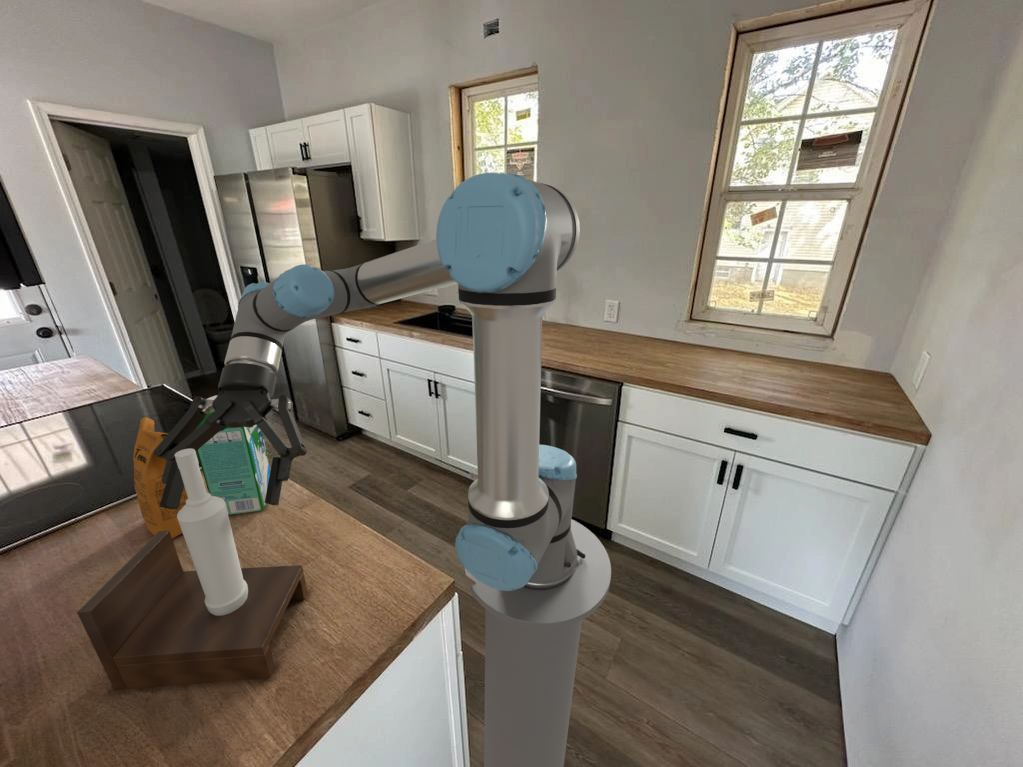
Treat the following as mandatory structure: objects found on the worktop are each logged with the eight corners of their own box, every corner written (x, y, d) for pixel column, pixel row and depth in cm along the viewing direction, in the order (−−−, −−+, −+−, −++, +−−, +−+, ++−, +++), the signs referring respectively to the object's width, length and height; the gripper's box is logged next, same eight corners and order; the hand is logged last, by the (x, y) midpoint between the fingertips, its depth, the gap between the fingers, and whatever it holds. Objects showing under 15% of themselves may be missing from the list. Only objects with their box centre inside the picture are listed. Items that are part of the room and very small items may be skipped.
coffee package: (199, 497, 91) (173, 407, 83) (218, 522, 84) (191, 426, 76) (141, 519, 84) (106, 423, 76) (157, 549, 77) (120, 446, 69)
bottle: (256, 596, 61) (218, 449, 52) (219, 623, 57) (170, 468, 48) (237, 581, 63) (197, 438, 54) (200, 606, 59) (150, 455, 50)
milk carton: (230, 491, 94) (203, 390, 85) (274, 486, 96) (253, 387, 87) (215, 517, 85) (184, 408, 77) (263, 510, 88) (238, 404, 79)
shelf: (307, 592, 69) (294, 525, 64) (270, 678, 56) (250, 601, 51) (182, 599, 67) (158, 530, 62) (114, 690, 54) (76, 612, 49)
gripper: (337, 379, 71) (321, 505, 63) (182, 381, 69) (144, 512, 60) (323, 360, 65) (303, 498, 56) (151, 360, 62) (102, 506, 53)
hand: (220, 506), depth 58 cm, fingers open, 13 cm apart
